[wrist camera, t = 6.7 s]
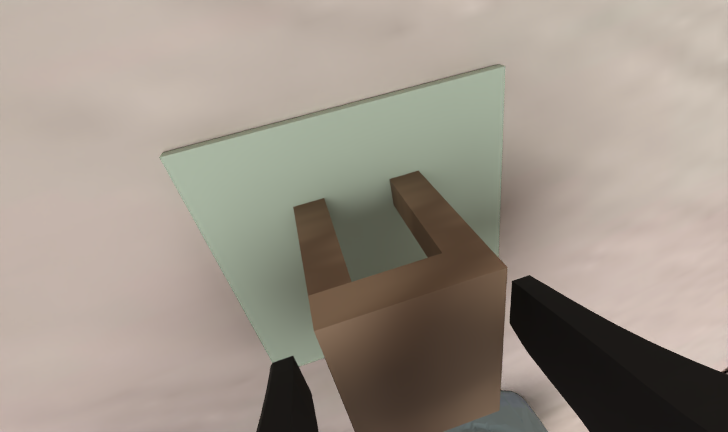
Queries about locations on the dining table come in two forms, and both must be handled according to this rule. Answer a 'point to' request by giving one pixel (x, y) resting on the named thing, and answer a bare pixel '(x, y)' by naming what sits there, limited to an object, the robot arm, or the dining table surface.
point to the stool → (409, 318)
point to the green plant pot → (506, 418)
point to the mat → (340, 191)
